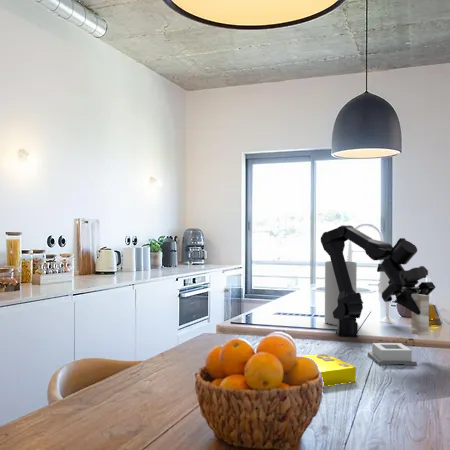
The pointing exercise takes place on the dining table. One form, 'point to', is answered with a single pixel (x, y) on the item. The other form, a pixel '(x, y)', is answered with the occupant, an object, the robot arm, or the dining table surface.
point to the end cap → (391, 354)
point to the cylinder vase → (335, 289)
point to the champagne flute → (383, 286)
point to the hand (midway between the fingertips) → (423, 313)
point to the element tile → (334, 369)
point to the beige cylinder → (421, 315)
